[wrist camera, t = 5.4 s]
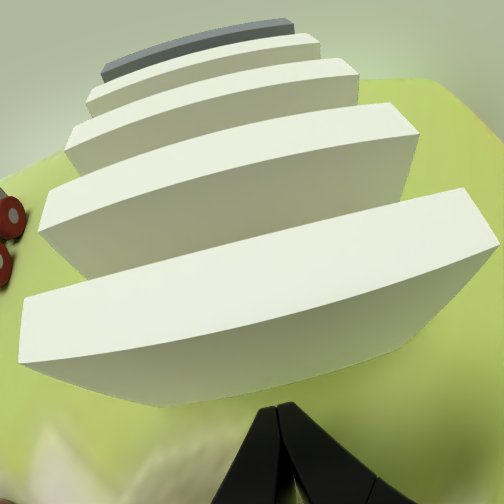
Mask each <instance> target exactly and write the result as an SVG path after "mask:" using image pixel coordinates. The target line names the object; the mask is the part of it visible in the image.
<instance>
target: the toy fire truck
mask: <svg viewBox="0 0 504 504" xmlns="http://www.w3.org/2000/svg"><path fill="white" fill-rule="evenodd" d="M25 225H26V213H25V210H24V208H23V206H22V204H21V202H20V201H19V200H18V199H17V198H15V197H13V196H8V195H7V194H6V193H5V192H4V191H3V190H2V189H1V188H0V237H2V238H3V239H6V240H11V239H14V238H16V237H18V236H20V235H21V234H22V233H23V231H24V229H25ZM11 270H12V263H11V257H10V254H9V252H8V250H7V248H6V247H5V246H4V244H3V243H2V242H0V286H2V285H4V284H5V283H6V282H7V281H8V280H9V278H10V275H11Z"/></svg>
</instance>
